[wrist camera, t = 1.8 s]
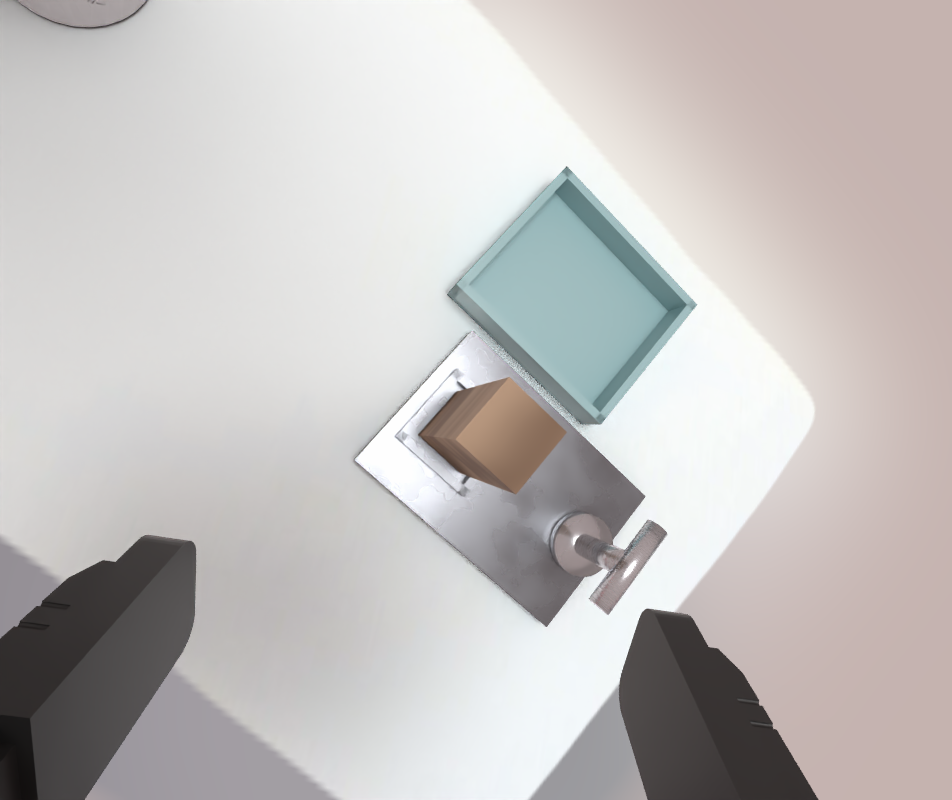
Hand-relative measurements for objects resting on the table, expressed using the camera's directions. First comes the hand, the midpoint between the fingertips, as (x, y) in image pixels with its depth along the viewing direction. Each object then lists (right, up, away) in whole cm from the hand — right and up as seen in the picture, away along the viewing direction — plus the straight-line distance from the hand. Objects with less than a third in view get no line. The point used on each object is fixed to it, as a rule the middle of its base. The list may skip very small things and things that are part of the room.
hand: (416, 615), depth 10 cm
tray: (+8, +11, +32) cm, 35 cm away
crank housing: (+3, -2, +30) cm, 30 cm away
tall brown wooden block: (0, +2, +28) cm, 28 cm away
